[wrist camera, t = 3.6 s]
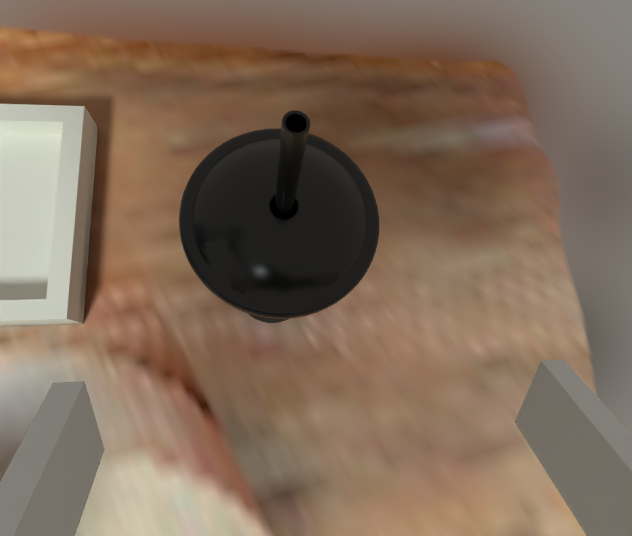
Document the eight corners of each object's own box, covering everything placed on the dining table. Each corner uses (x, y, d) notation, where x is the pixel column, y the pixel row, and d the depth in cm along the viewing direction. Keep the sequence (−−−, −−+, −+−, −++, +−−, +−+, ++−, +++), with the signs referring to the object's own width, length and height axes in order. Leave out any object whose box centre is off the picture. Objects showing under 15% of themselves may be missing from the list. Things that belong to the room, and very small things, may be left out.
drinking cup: (209, 240, 30) (118, -7, 10) (317, 229, 31) (414, -12, 12) (221, 352, 28) (138, 300, 9) (335, 335, 29) (481, 257, 10)
